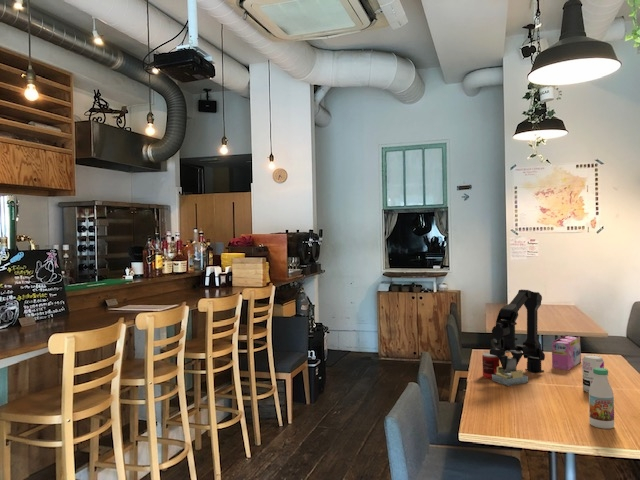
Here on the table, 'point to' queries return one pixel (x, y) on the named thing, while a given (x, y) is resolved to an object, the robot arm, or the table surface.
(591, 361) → the supplement can
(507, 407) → the table surface
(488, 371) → the canned food
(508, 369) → the grey rounded piece
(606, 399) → the milk bottle
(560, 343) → the pink drink carton pack
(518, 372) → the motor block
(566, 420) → the table surface
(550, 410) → the table surface
